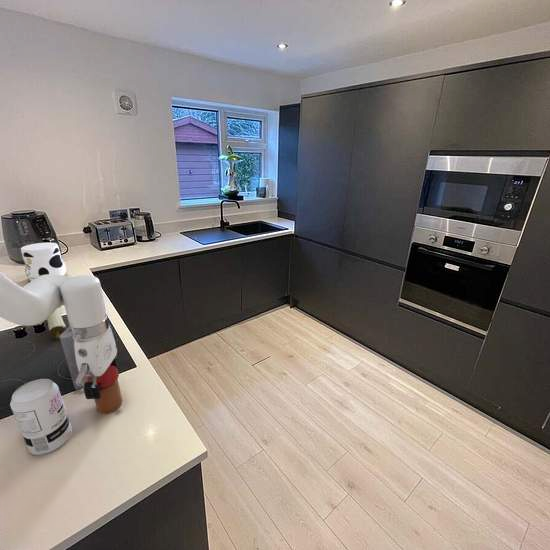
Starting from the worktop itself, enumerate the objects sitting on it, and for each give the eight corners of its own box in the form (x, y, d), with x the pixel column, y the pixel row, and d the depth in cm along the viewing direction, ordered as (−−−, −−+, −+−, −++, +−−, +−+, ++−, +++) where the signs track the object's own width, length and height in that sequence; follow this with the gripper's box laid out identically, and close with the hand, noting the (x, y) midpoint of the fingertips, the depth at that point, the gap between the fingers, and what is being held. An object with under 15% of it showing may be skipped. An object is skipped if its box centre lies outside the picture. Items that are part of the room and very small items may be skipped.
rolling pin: (47, 309, 124) (44, 299, 122) (63, 306, 127) (60, 296, 125) (50, 346, 100) (46, 334, 98) (69, 340, 103) (66, 329, 101)
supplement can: (28, 437, 68) (7, 387, 62) (70, 419, 73) (54, 371, 67) (29, 464, 62) (7, 411, 56) (74, 442, 67) (58, 392, 61)
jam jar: (92, 414, 74) (84, 385, 71) (103, 396, 80) (96, 368, 76) (116, 413, 75) (110, 384, 71) (126, 395, 80) (120, 368, 77)
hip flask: (90, 356, 96) (77, 302, 88) (104, 354, 97) (91, 301, 89) (73, 390, 81) (54, 330, 74) (89, 388, 82) (72, 328, 75)
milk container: (19, 282, 149) (8, 249, 143) (51, 271, 165) (42, 240, 158) (46, 286, 146) (36, 252, 139) (75, 274, 161) (68, 243, 155)
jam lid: (96, 370, 77) (95, 365, 76) (123, 370, 77) (122, 364, 77) (82, 389, 71) (80, 383, 70) (111, 389, 71) (110, 382, 70)
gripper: (87, 348, 60) (102, 410, 67) (121, 309, 76) (131, 361, 83) (49, 349, 60) (68, 411, 66) (92, 309, 76) (103, 362, 82)
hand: (103, 383), depth 74 cm, fingers open, 9 cm apart
